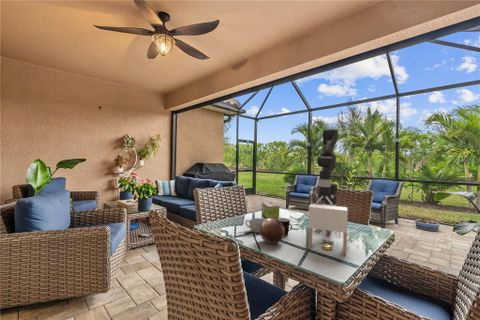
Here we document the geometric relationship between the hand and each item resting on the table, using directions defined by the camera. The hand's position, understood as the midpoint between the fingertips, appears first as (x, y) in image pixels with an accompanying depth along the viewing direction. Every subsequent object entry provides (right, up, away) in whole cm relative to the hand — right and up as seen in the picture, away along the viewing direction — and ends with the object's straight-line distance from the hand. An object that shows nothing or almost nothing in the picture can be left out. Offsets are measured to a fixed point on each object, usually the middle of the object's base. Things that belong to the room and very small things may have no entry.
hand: (324, 209), depth 156 cm
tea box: (-34, -16, +28) cm, 46 cm away
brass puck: (-7, -18, -24) cm, 30 cm away
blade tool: (0, -17, -7) cm, 19 cm away
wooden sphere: (-38, -17, -18) cm, 45 cm away
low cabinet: (-8, -17, -25) cm, 31 cm away
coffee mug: (-28, -17, -3) cm, 33 cm away
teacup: (-47, -16, +4) cm, 50 cm away
